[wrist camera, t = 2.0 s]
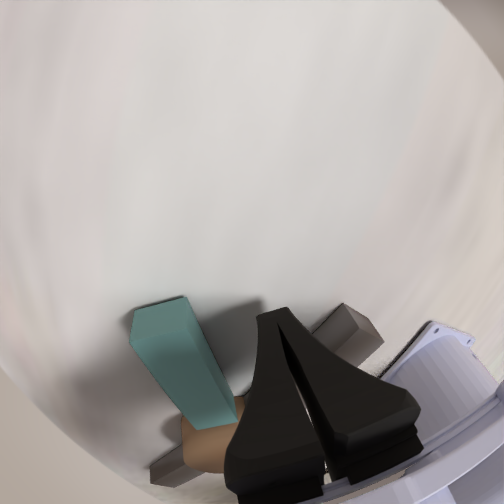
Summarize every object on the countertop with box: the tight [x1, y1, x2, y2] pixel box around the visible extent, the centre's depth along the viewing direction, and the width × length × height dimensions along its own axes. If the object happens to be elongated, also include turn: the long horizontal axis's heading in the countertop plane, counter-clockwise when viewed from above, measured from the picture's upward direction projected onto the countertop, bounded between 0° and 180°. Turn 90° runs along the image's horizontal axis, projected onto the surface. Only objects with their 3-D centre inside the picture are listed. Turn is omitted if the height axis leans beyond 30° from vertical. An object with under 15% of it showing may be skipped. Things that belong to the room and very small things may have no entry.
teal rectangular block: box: [129, 297, 238, 430], centre depth 14 cm, size 8×2×2 cm, turn 12°
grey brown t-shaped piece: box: [150, 303, 384, 488], centre depth 19 cm, size 16×24×3 cm, turn 142°
